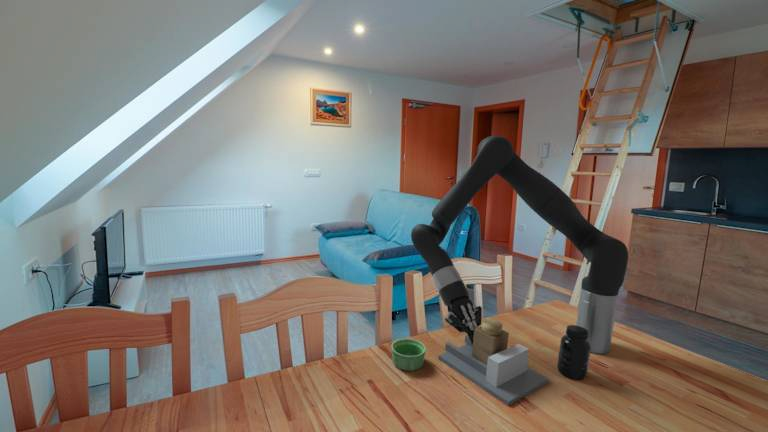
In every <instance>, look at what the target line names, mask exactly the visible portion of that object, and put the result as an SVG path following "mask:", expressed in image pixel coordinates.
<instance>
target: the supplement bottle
mask: <svg viewBox="0 0 768 432" xmlns="http://www.w3.org/2000/svg"><path fill="white" fill-rule="evenodd" d="M587 339H588V330H587V329H585V328H583V327H580V326H576V325H574V324H570V325H568V326H566V330H565V334H564V335H563V336H562V337H561V339H560V343H559V349H558V350H559V352H558V356H557V357H558V359H557V365H556V366H557V367H556V368H557V370H558V372H559V373H560V374H561V375H562V376H564V377H566V378H568V379H571V380H576V381H583V380H584V379H586V378H587V376H588V372H589V371H588V370H589V364H590V355H591V352H590V350H591V345H590V343H589V341H588V340H587Z"/></svg>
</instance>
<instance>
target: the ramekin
mask: <svg viewBox="0 0 768 432" xmlns="http://www.w3.org/2000/svg"><path fill="white" fill-rule="evenodd" d="M426 350H427V347H426V346H425V344H424V343H423V342H421V341H420V340H417V339H412V338H402V339H397V340H395V341H394V342H392V343H391V354H392V355H391V356H392V362H393V365H394V366H395V367H396V368H398V369H400V370H403V371H409V372H411V371H417V370H419V369H421V368H422V367H423V366H424V360H425V354H426V352H427V351H426Z"/></svg>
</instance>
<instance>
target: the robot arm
mask: <svg viewBox="0 0 768 432" xmlns="http://www.w3.org/2000/svg"><path fill="white" fill-rule="evenodd" d="M476 154H477V155H476V156H475V158H474V160H473V162H472V164H471V165H470V166H469V168H468V169H467V170H466V172H465V173H464V174H463V175H462V176H461V178H460V179H459V180H458V181H457V182H456V183H455V184H454V185H452V187H451V188H450V189H449V190H448V191H447V192H446V193H445V194H444V196H443V197H442V199H440V200H439V202H438V203H437V205H436V206H435V207H434V208H433V209H432V212H431V216H432V221H431V222H430V223H429V224H425V223H418V224H416V225H414V226H413V228H412V230H411V233H410V238H411V242H412V244H413V246H414V249H415V250H416V251H417V252H418V254H419V255H420V257H421V258H422V259H423V260H424V262H425V264H426V266H427V268H428V270H429V271H430V274H431V276H432V278H433V282H434V285H435V287H436V289H437V292H438V294H439V295H440V298H441V300H442V303H443V304H444V306H445V307H446V306H447V311H448V314H447V316H445V318H444V321H445V322H446V323H447V324H449V325H450V326H451V327H453V328H454V329H455V330H457V331H458V332H459V333H466V335H468V336H469V339H470V341H471V343H472V344H473V338H474V329H476V328H478V327H481V326H482V316H483V315H482V313H483V310H482V309H483V308H482V307H483V306H481V305H478V306H477V305H474V303H473V301H472V300H471V299H470V297H469V296H470V292H469V291H468V289H467V287H466V284H465V283H464V281H463V279H462V277H461V275H460V272H458V270H457V268H456V266H455V264H454V263H453V260H452V259H451V257H450V255H449V253H448V252H447V251H446V250H445V249H443V248H441V246H440V245H441V244H442V243H443V241H444V240H445V238H446V236H447V235H448V232H449V230H450V228H451V226H452V224H453V223H454V222H456V220H457V219H458V218H459V217H460V215H461V214H462V212H464V210H465V208H467V206H468V205H469V204H470V202H472V200H473V199H474V198H475V196H476V195H477V194H478V193H479V192H480V190H481V189H482V188H483V187H484V186H485V185H486V184H487V183H488V182H489V181H490V180H491V179H492V178H493V177H495V175H498V176H499V177H501V179H503V180H504V181H505V182H506V183H508V185H509V186H510V187H511V188H512V189H513V191H515V193H516V194H517V195H518V196H519V197H520V199H521V200H522V201H523V202H524V203H525V204H526V205H527V206H528V207H529V208H530V209H531V210H532V211H533V212H534V213H535V214H537V215H538V216H539V217H540V218H541V219H542V220H543V221H545V222H546V223H547V224H548V225H550V226H551V227H553V229H555V230H557V231H558V232H560V233H561V234H562V235H564V236H565V237H566V238H567V240H569V241H570V242H571V243H572V244H573V246H574V247H576V249H577V250H578V251H579V253H580V254H581V255H582V256H583V258H585V260H586V261H587V262H589V263H590V267H589V272H588V275H587V276H584V277H583V278H582V280H581V287H580V292H579V293H580V294H579V303H578V309H577V317H576V318H577V319H576V326H580V327H583V328H585V329H587V330H588V339H587V340H588V341H589V343H590V345H591V350H590V353H593V354H599V355H600V354H602V355H603V354H608V353H609V352H610V351H611V347H612V346H611V344H612V338H613V333H614V331H613V330H614V325H615V319H616V313H617V312H616V310H617V306H618V299H619V298H618V297H619V293H620V292H619V291H620V289H621V287H622V286H623V284H624V281H625V277H626V272H627V267H628V262H629V250H628V247H627V245H626V244H625V243H624V242H623V241H622V240H620V239H618V238H616V237H613V236H611V235H608V234H607V233H605V232H603V231H601V230H600V229H599V228H597V227H596V226H595V225H593V224H592V223H591V222H590V221H588V220H587V218H585V217H584V216H583V215H582V213H581V211H580V210H579V208H578V207H577V205H576V203H575V202H574V201H573V200H572V199H571V198H570V196H569V195H568V194H566V192H565V191H563V190H562V189H561V188H560V187H559V186H557V185H556V184H555V183H554V182H553V181H552V180H550V179H549V178H548V177H546V176H545V175H543V174H542V173H540V172H539V171H537V170H535V169H534V168H532V167H531V166H530V165H528V164H527V163H526V162H525V161H524V160H523V159H522V158H521V157H520V155H518V154H517V153H516V152H515V151H514V148H513V145H512V143H511V141H510V140H509V139H507V138H506V137H504V136H500V135H490V136H487V137H486V138H483V139H481V141H480V143H479V144H478V147H477V150H476Z"/></svg>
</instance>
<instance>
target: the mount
mask: <svg viewBox="0 0 768 432" xmlns="http://www.w3.org/2000/svg"><path fill="white" fill-rule="evenodd" d="M464 343H465V344H463V345H461V346H459V347H457V345H454V344H453V343H451V342H449V341H448V342H445V344H444V345H445V347H444V348H445V349H444V350H445V351H446V352H444V353H441V354H438V355H437V356H438V357H437V359H438V360H439V361H441V362H442V363H443V364H446V365H447V366H448V367H450V368H451V369H452V370H454V371H456V372H457V373H459V374H460V375H461V376H463V377H464V378H466V379H467V380H469V381H471V383H474V384H475V385H476V386H478V387H479V388H480V389H482V390H483V391H484V392H486V393H488V394H489V395H491V396H493V397H494V398H495V399H497V400H499V402H501V403H503V404H505V405H506V406H510V405H512V404H514V403H515V402H517V401H519V400H521V399H523V398H524V397H526V396H527V395H529V394H531V393H533V392H534V391H536V390H537V389H540V388H541V387H542V386H544V385H546V384H548V383H549V379H550V378H549V377H547V376H546V375H544V374H541V373H540V372H538V371H536V370H534V369H533V368H531V367H530V366H528V361H529V353H530V348H527V347H526V346H524V345H522V344H519V343H517V344H514V345H512V346H511V347H507V349H506V350H503V351H501V352H499V353H496V354H494V355H492V356H490V357H488V362H487V365H486V364H484V363H483V362H481V361H479V360H478V359H476V358H474V357H473V356H472V350H473V344H472V343H471V341H470V339H469V336H468V334H466V335H465V337H464Z"/></svg>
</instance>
